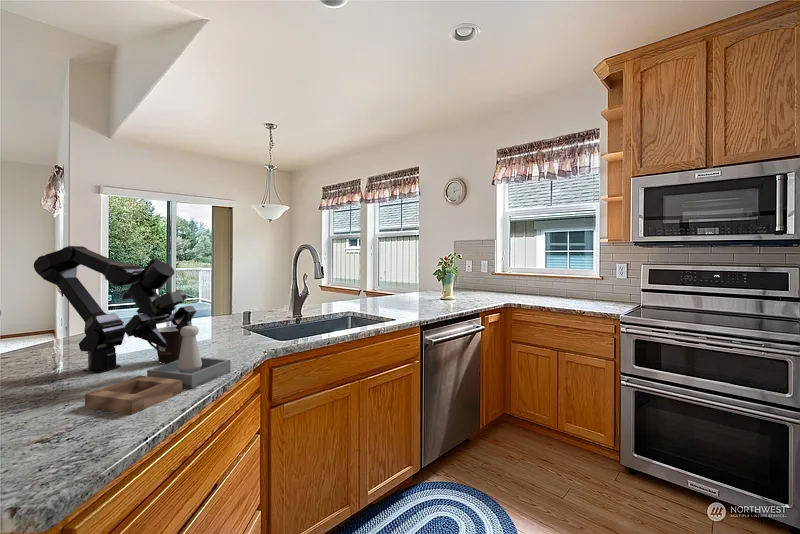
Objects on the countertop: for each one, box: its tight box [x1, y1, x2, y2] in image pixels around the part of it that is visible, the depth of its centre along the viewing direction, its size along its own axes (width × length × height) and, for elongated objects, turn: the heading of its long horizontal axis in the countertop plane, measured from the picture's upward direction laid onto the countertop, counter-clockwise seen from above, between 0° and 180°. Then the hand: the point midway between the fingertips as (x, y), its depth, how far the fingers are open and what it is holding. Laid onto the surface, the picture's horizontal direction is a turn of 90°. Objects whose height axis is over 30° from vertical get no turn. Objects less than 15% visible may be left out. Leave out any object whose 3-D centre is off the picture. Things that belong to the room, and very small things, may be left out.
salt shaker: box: [177, 325, 202, 374], centre depth 102 cm, size 6×6×13 cm
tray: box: [146, 356, 232, 390], centre depth 102 cm, size 14×14×4 cm
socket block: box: [84, 375, 183, 415], centre depth 87 cm, size 13×13×3 cm
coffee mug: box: [147, 325, 183, 364], centre depth 119 cm, size 12×9×10 cm
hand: (180, 342), depth 103 cm, fingers open, 9 cm apart
